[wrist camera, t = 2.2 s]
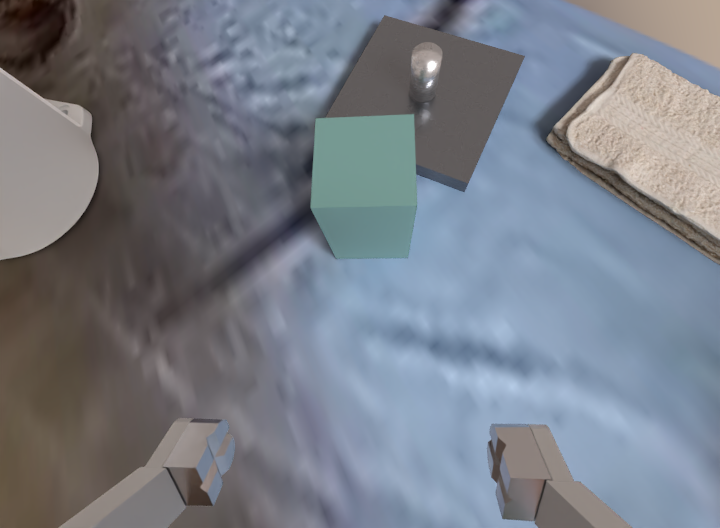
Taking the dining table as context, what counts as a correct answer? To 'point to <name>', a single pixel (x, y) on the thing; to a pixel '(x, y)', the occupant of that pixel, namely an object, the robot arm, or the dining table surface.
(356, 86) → the stub plate
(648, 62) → the washcloth
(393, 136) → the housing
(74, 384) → the dining table surface
